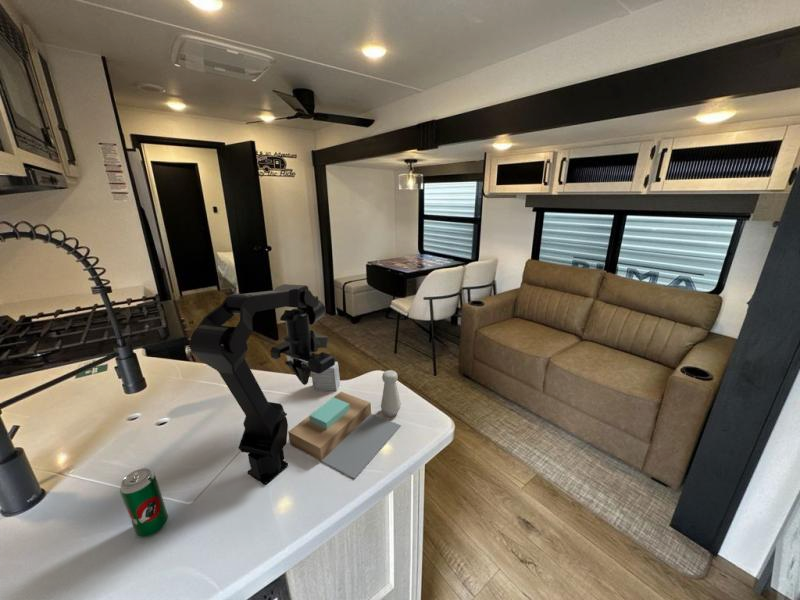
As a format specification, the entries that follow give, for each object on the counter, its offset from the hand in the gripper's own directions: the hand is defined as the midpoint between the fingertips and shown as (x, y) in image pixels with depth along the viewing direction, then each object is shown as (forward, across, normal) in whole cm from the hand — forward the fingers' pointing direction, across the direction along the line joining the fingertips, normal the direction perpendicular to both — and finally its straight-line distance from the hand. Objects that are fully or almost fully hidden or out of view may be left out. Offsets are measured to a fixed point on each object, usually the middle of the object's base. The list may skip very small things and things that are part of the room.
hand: (305, 383), depth 87 cm
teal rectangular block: (+7, -8, 0) cm, 11 cm away
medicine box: (+11, +6, -14) cm, 19 cm away
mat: (+11, -20, 0) cm, 22 cm away
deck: (+11, -9, 0) cm, 14 cm away
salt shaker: (+11, -19, -14) cm, 26 cm away
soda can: (+12, +3, +38) cm, 40 cm away
